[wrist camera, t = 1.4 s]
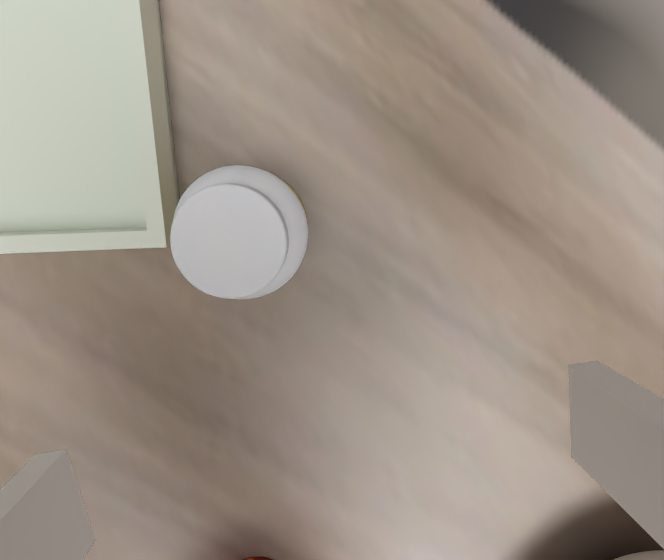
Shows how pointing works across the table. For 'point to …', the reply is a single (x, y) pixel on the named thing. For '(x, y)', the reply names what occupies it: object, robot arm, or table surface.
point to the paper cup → (257, 558)
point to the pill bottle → (239, 232)
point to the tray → (84, 127)
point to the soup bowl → (644, 556)
